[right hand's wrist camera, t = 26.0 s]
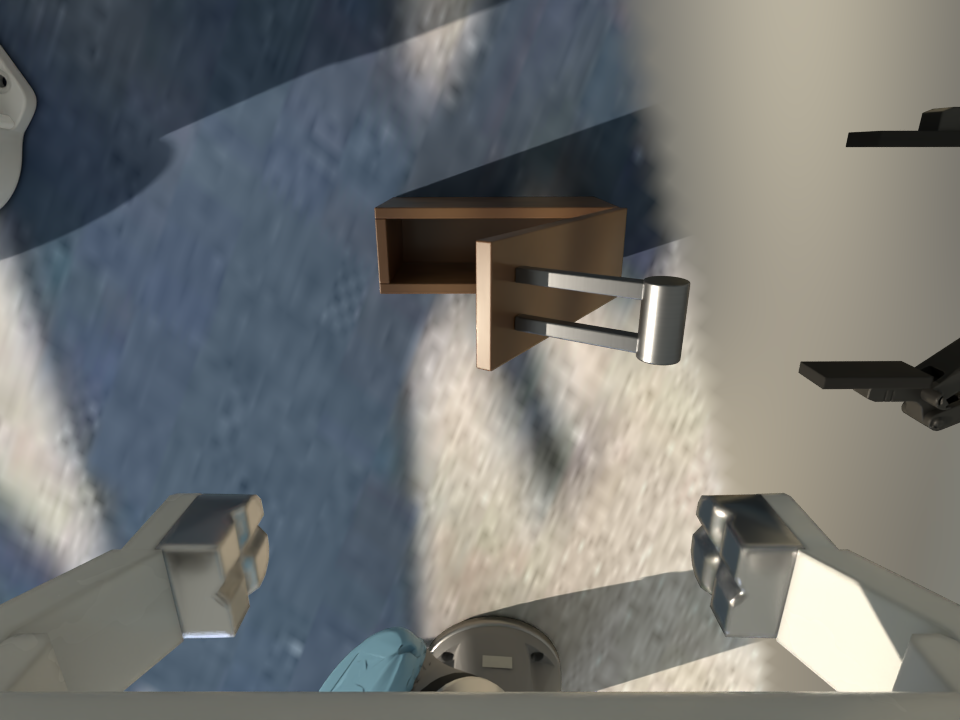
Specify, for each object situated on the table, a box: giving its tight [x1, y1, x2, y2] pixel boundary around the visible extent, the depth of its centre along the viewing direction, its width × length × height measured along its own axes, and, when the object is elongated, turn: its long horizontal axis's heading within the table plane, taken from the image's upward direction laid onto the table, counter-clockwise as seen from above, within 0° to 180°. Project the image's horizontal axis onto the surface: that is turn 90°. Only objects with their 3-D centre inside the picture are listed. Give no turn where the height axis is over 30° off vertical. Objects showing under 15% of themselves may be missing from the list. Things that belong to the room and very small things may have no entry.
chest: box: [375, 197, 619, 294], centre depth 42 cm, size 16×6×8 cm, turn 90°
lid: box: [476, 207, 690, 371], centre depth 29 cm, size 17×6×8 cm
